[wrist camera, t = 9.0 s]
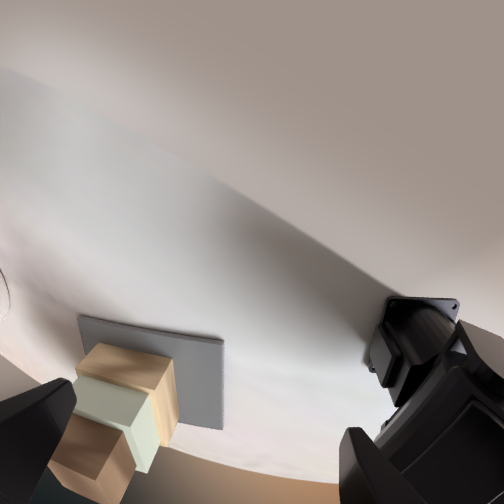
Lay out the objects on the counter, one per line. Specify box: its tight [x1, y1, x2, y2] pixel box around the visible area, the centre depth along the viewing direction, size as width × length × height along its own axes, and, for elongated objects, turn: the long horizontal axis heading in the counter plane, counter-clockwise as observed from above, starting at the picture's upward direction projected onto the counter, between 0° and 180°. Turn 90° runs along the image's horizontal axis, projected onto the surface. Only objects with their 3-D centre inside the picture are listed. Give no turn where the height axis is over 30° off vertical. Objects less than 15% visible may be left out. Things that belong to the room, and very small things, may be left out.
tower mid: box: [72, 374, 160, 473], centre depth 18 cm, size 6×6×4 cm
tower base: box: [75, 343, 180, 447], centre depth 22 cm, size 7×7×4 cm
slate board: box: [77, 315, 224, 430], centre depth 24 cm, size 13×10×1 cm
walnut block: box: [48, 413, 137, 504], centre depth 14 cm, size 4×4×4 cm
